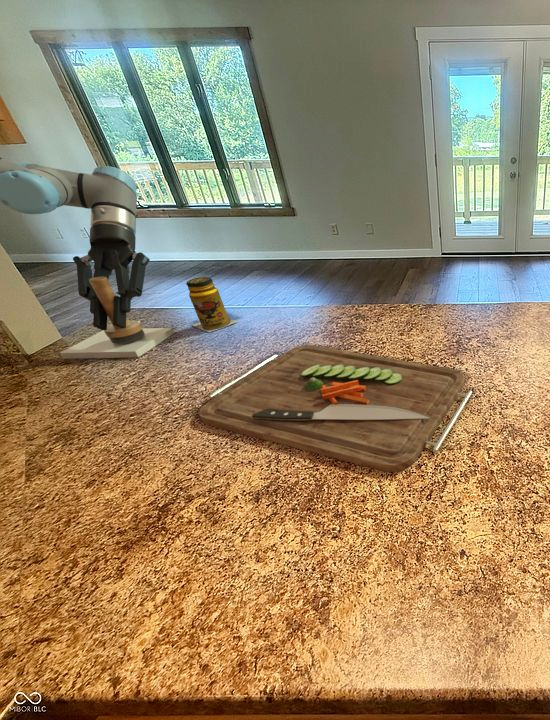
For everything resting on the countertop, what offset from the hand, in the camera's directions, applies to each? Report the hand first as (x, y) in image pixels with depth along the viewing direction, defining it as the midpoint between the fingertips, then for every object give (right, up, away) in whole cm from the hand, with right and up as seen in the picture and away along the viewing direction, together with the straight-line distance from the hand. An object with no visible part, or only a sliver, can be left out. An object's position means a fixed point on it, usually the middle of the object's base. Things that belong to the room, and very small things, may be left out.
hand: (109, 326), depth 81 cm
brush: (-1, -2, +5) cm, 6 cm away
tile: (-3, -4, +6) cm, 8 cm away
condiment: (+11, +2, +16) cm, 20 cm away
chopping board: (+54, -14, -12) cm, 57 cm away
